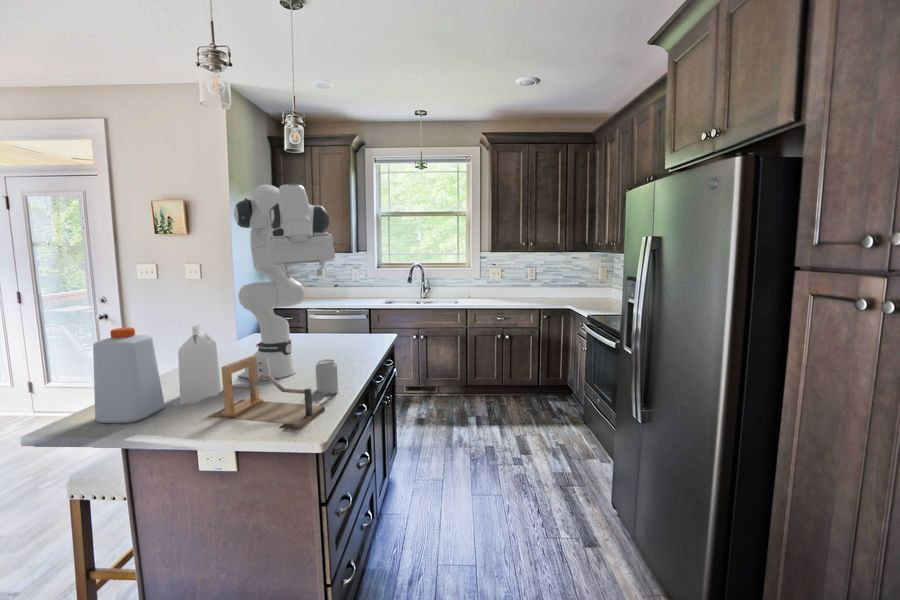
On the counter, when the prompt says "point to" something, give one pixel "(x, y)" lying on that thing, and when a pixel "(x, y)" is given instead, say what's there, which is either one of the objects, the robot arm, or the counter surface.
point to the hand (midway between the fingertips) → (304, 276)
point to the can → (327, 376)
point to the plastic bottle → (126, 378)
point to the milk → (198, 368)
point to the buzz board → (279, 408)
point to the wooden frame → (228, 389)
